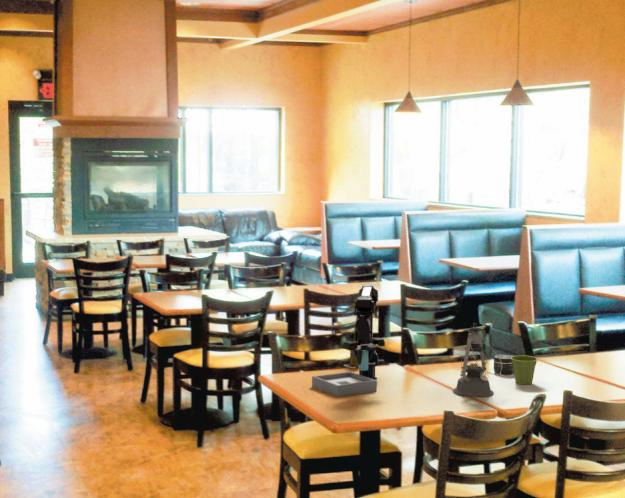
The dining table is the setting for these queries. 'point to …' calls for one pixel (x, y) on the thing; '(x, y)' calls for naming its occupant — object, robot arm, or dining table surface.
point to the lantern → (474, 370)
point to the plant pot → (524, 368)
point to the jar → (503, 364)
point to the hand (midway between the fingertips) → (363, 363)
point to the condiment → (352, 360)
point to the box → (344, 383)
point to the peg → (364, 361)
